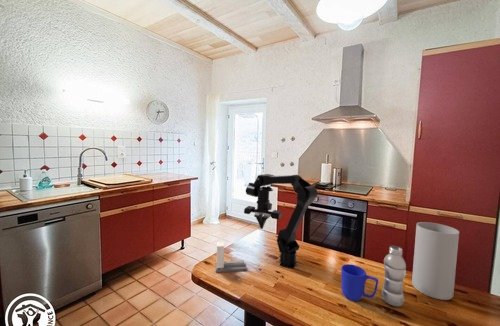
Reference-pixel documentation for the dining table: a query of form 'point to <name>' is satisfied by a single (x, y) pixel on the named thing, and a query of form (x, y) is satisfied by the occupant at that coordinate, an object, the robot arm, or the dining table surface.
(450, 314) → the dining table surface
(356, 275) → the mug
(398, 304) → the plastic bottle
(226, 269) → the board
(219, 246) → the white cardboard box
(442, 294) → the cylinder vase
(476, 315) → the dining table surface
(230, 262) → the light grey bar
